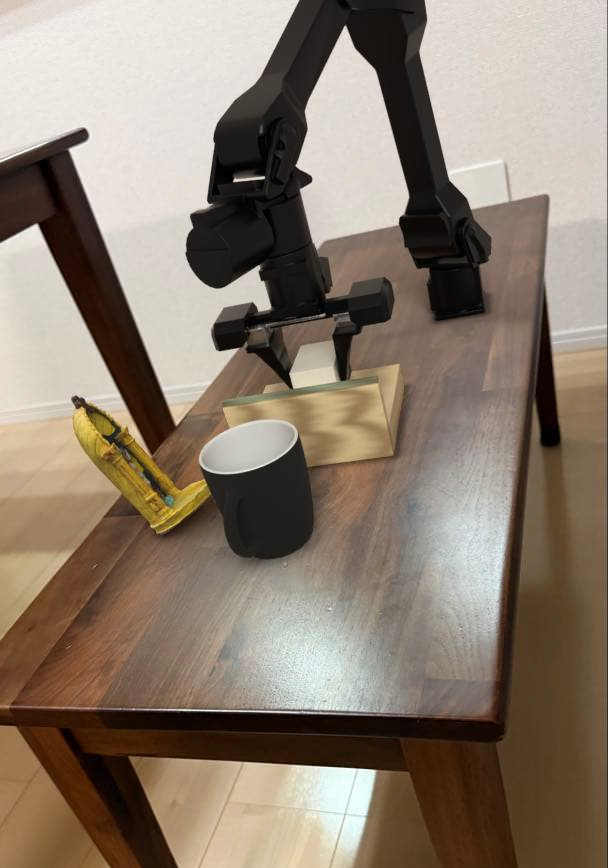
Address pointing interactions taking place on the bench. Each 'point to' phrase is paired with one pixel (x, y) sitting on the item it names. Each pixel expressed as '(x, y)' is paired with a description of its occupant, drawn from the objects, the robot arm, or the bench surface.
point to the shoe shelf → (333, 414)
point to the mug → (260, 487)
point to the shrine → (134, 469)
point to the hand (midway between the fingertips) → (321, 388)
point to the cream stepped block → (315, 365)
